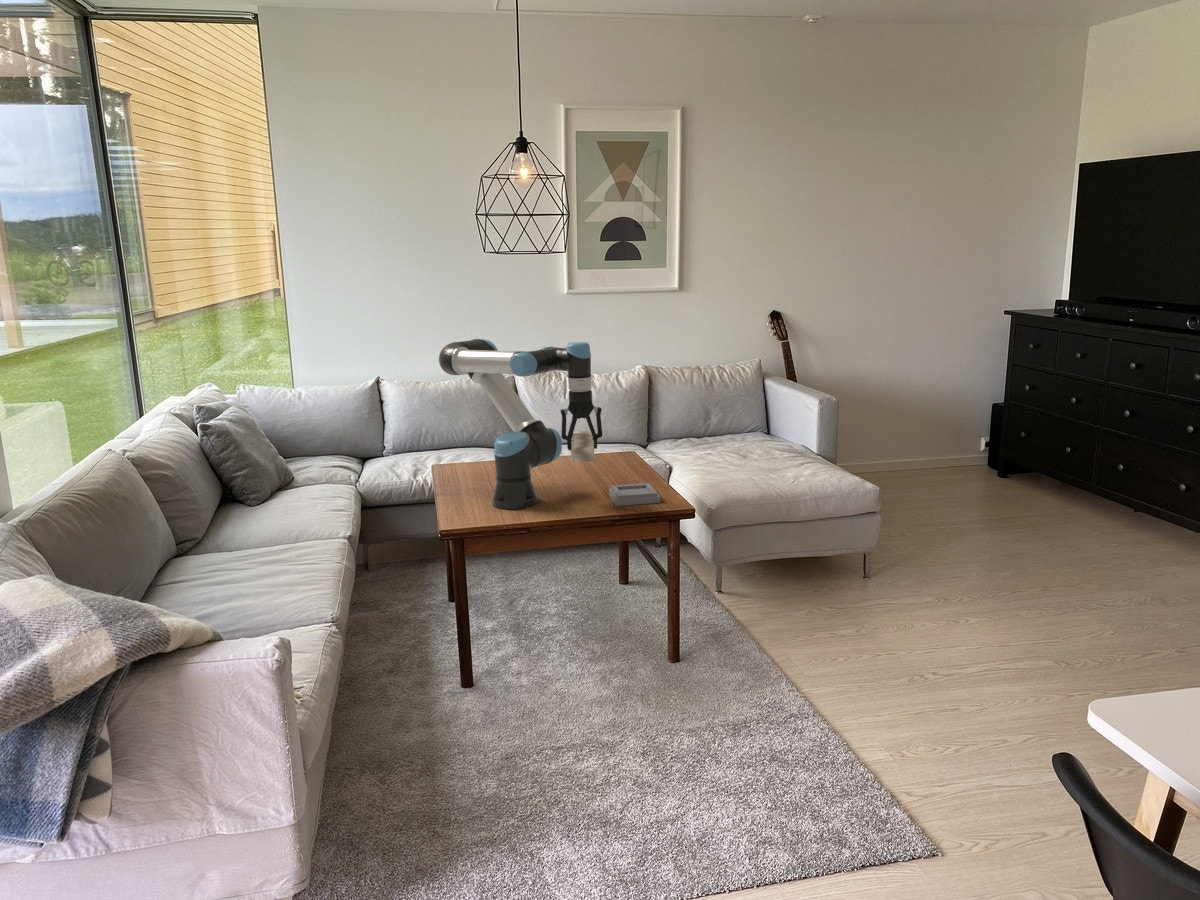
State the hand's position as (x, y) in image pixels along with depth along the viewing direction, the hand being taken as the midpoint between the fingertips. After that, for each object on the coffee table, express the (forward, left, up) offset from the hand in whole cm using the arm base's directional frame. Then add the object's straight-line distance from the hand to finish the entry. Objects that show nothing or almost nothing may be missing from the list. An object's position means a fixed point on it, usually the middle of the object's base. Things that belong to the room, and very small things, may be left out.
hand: (582, 458), depth 291 cm
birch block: (0, 0, 0) cm, 0 cm away
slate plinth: (+17, 0, -15) cm, 23 cm away
